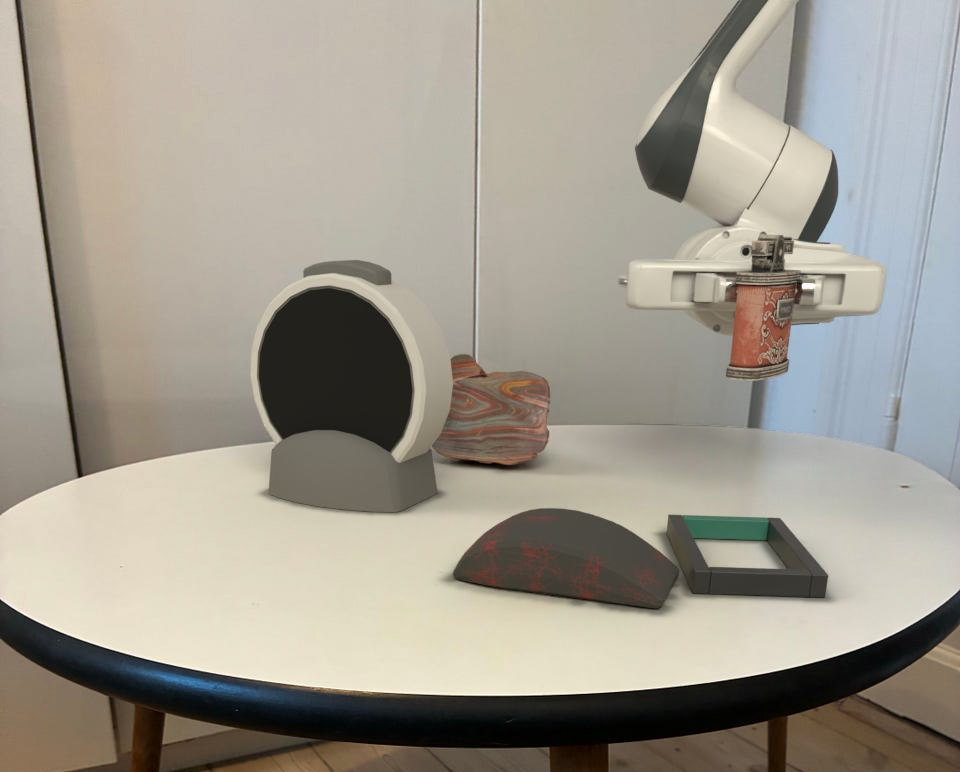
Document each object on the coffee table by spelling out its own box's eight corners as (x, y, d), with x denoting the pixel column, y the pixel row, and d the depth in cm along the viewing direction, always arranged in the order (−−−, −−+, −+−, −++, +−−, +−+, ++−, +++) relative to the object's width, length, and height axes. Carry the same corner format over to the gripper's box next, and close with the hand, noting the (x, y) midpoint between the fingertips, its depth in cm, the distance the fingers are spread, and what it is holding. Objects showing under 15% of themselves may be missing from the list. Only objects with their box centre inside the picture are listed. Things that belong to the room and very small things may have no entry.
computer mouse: (485, 551, 71) (486, 494, 70) (682, 575, 67) (687, 516, 66) (443, 586, 64) (443, 524, 63) (660, 615, 60) (666, 550, 58)
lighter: (759, 382, 75) (776, 235, 71) (715, 377, 77) (730, 234, 73) (796, 370, 81) (814, 234, 77) (756, 366, 83) (771, 233, 79)
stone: (413, 463, 96) (412, 354, 92) (443, 447, 104) (443, 344, 100) (543, 475, 93) (548, 362, 89) (564, 457, 100) (570, 351, 96)
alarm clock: (236, 494, 84) (219, 258, 77) (306, 470, 93) (296, 255, 86) (409, 520, 78) (407, 266, 71) (466, 491, 87) (470, 262, 80)
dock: (777, 537, 76) (780, 517, 75) (825, 597, 64) (828, 575, 63) (666, 533, 76) (668, 514, 75) (692, 593, 64) (694, 570, 63)
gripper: (618, 240, 88) (632, 244, 75) (859, 244, 87) (915, 248, 74) (613, 317, 90) (626, 333, 77) (847, 321, 89) (900, 338, 77)
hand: (770, 292), depth 76 cm, fingers closed on lighter, 5 cm apart
